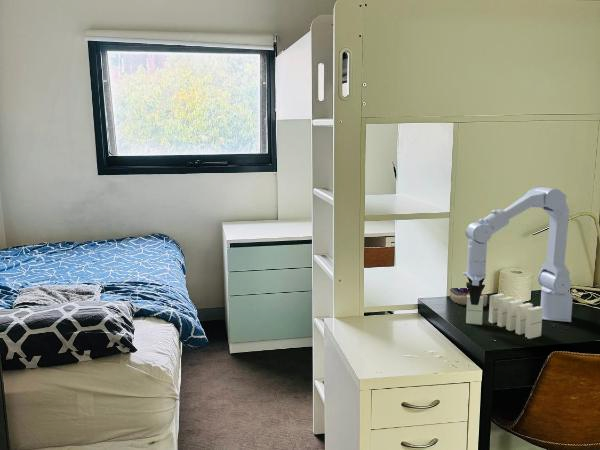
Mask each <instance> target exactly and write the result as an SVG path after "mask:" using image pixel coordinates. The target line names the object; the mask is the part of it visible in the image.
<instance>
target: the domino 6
mask: <svg viewBox="0 0 600 450" xmlns="http://www.w3.org/2000/svg"><path fill="white" fill-rule="evenodd" d="M542 313H543V308H542V307H540V305H538V306H533V308H528V309H527V313H526V329H525V333H524V337H525V338H526V337H527V338H526V339H529V340H531V339H534V338H538V337H541V336H542V327H543V325H542V323H543V319H542Z"/></svg>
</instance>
